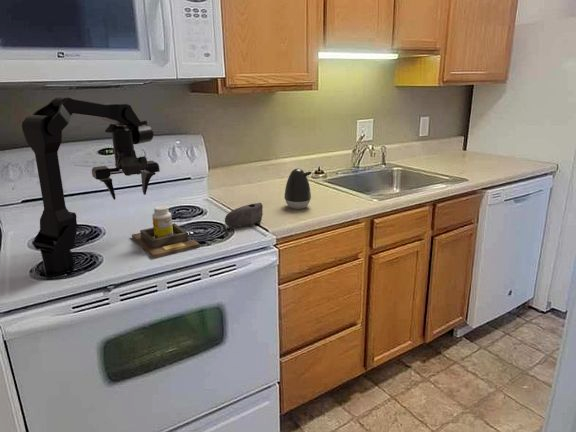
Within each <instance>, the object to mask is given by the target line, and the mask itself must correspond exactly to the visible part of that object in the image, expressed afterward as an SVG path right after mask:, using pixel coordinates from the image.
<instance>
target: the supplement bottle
mask: <svg viewBox="0 0 576 432" xmlns="http://www.w3.org/2000/svg"><path fill="white" fill-rule="evenodd" d="M151 218H152V228H153V227H154V236H155V239H157V238H162V237H166V236H171V235H173V227H172V224H173V219H172V218H173V217H172V213H171V212H170V211H169V207H168V206H167V205H157V206H155V207H154V212H153V214H152V216H151Z"/></svg>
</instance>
